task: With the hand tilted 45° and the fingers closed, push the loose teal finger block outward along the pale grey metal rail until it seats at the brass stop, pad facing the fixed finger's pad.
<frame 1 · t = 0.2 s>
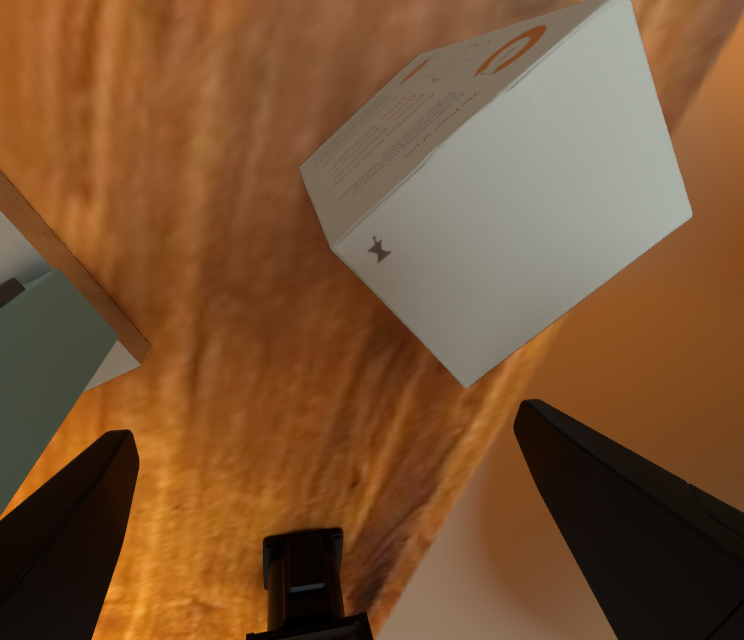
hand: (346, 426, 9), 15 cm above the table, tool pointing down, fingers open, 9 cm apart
small box: (393, 163, 21), on the table
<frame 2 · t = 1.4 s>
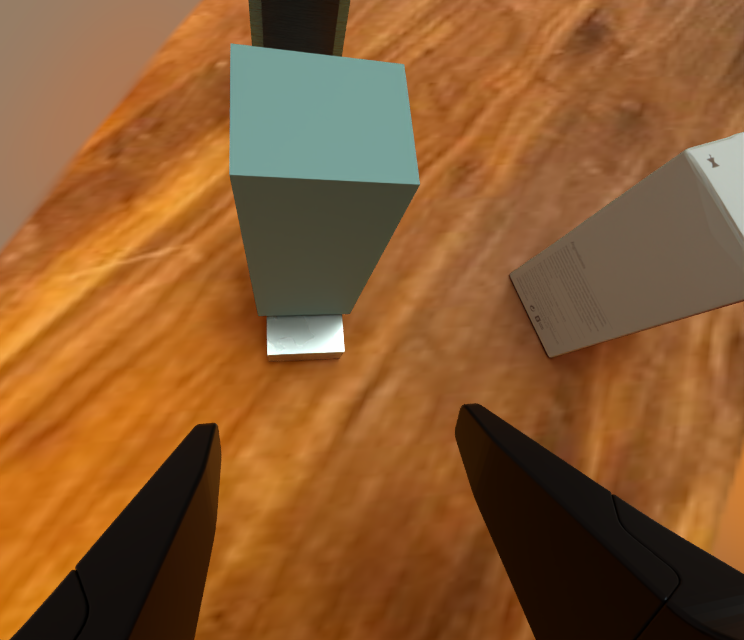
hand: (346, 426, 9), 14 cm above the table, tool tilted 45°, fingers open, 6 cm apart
rail: (298, 204, 26), on the table
loose finger: (310, 218, 16), point 8 cm above the table, slide at 0.0 cm
small box: (570, 300, 28), on the table
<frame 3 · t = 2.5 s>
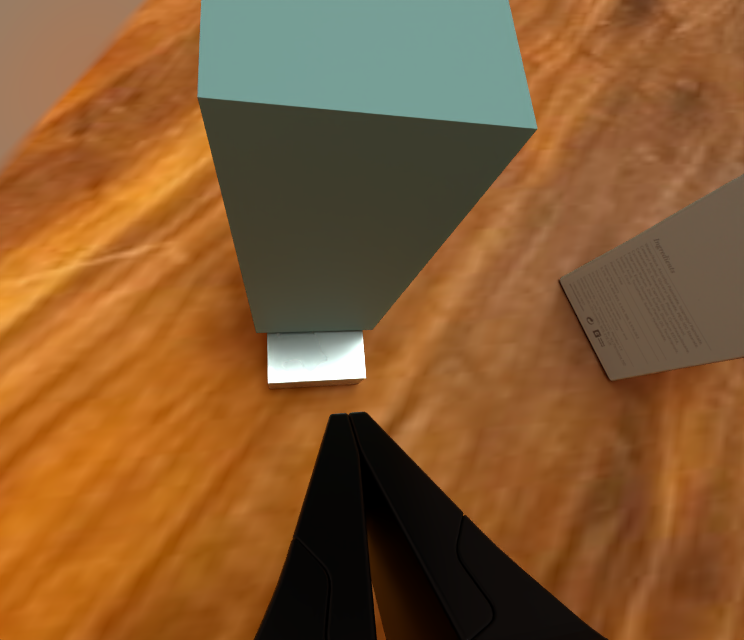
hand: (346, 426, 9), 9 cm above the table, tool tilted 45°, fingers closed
rail: (306, 193, 21), on the table
loose finger: (328, 203, 12), point 8 cm above the table, slide at 0.0 cm
small box: (630, 310, 24), on the table
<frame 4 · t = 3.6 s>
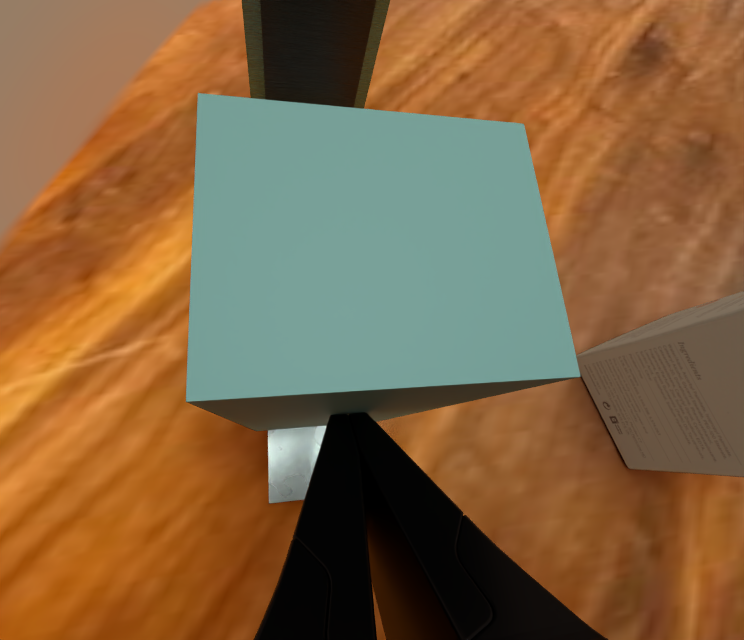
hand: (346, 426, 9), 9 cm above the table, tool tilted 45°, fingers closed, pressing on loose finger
rail: (308, 275, 20), on the table
loose finger: (333, 330, 11), point 8 cm above the table, slide at 0.7 cm, touching gripper
small box: (647, 386, 23), on the table
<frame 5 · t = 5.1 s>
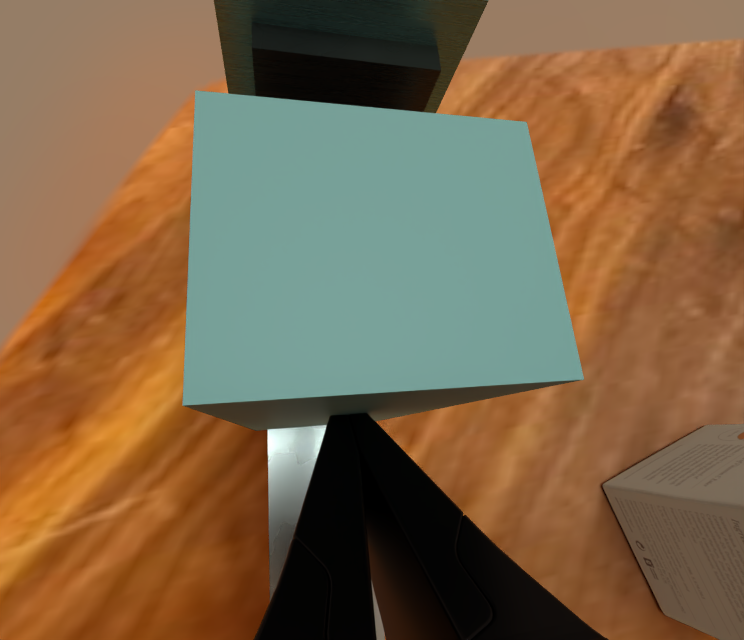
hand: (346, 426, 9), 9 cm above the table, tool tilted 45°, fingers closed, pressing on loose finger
rail: (314, 406, 18), on the table
loose finger: (333, 330, 11), point 8 cm above the table, slide at 7.1 cm, touching gripper
small box: (681, 511, 21), on the table
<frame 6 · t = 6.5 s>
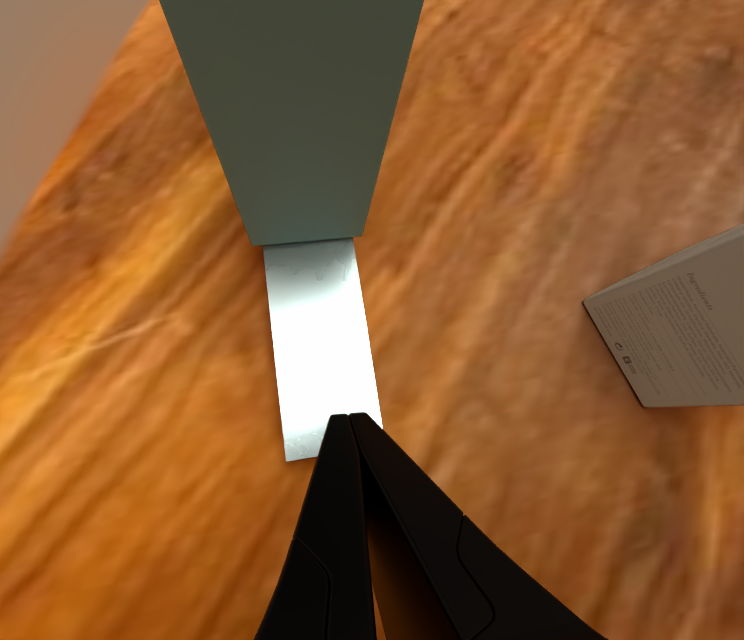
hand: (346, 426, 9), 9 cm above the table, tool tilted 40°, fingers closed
rail: (306, 241, 20), on the table
loose finger: (295, 91, 12), point 8 cm above the table, slide at 7.0 cm
small box: (662, 324, 22), on the table
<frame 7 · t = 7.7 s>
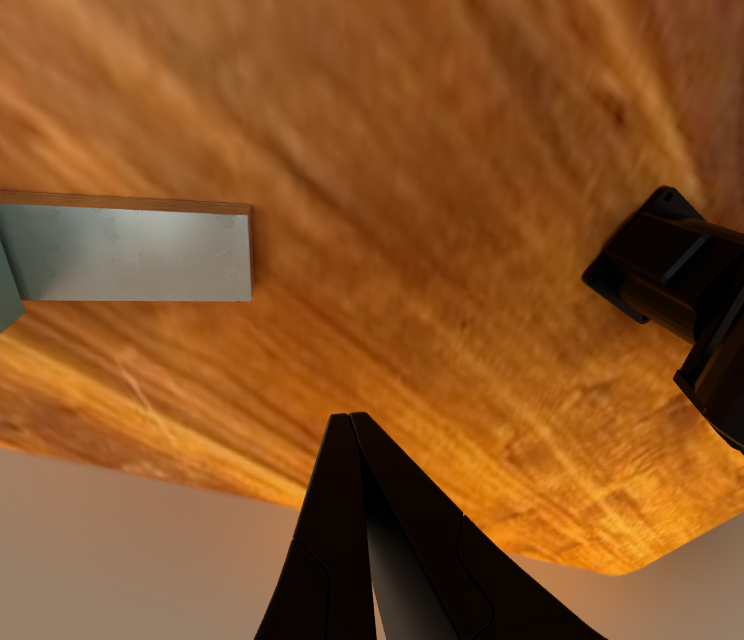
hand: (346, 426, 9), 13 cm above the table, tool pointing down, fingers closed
rail: (10, 237, 17), on the table
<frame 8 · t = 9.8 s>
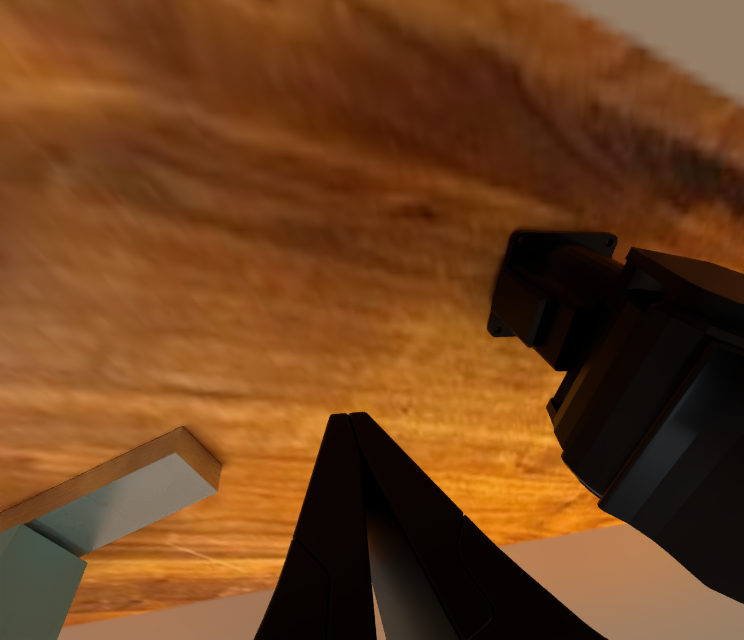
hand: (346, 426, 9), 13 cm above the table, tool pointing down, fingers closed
rail: (59, 514, 25), on the table
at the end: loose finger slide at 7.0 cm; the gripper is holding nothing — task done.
